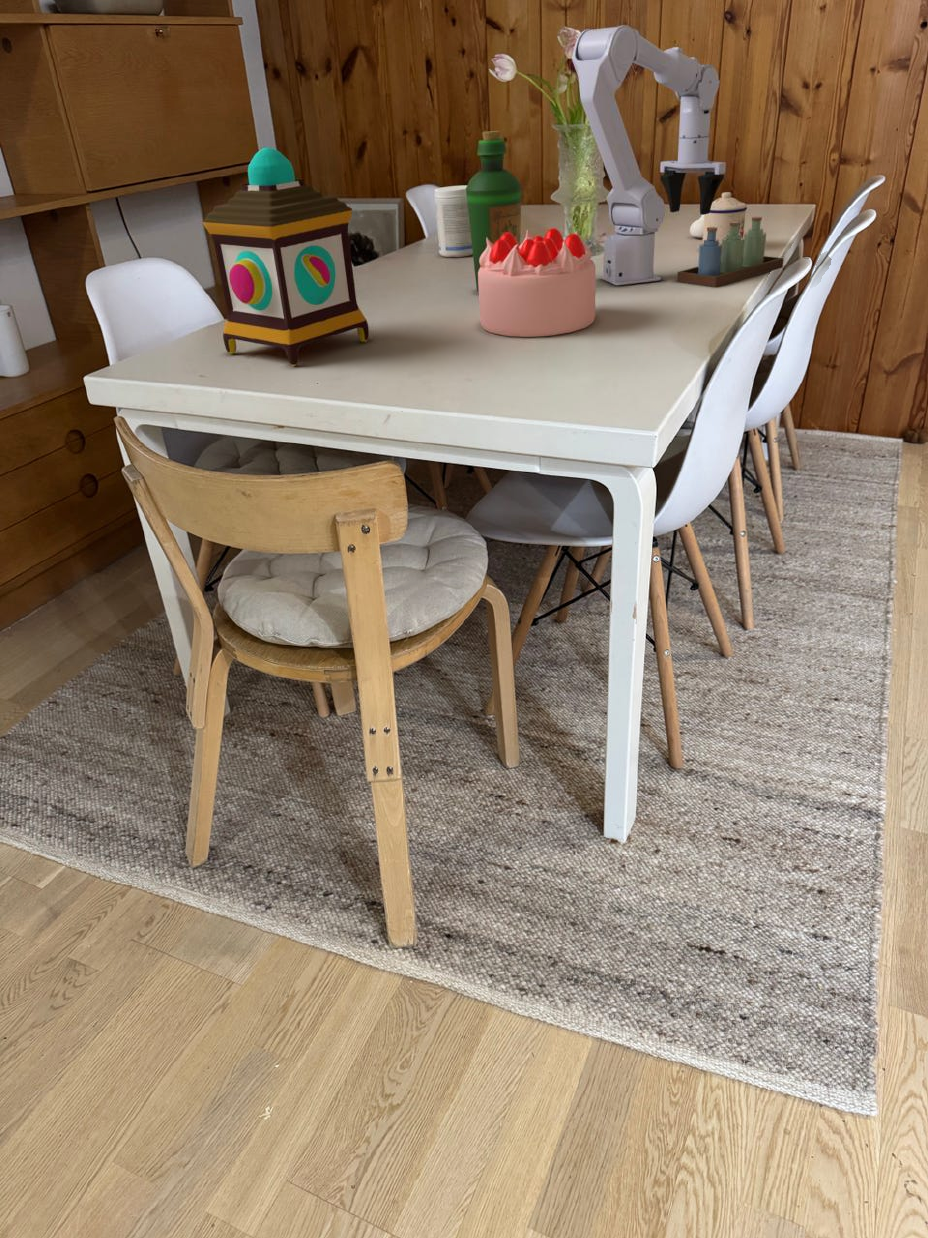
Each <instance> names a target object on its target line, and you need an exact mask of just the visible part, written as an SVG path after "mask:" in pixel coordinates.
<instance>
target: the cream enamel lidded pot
mask: <svg viewBox="0 0 928 1238" xmlns="http://www.w3.org/2000/svg"><path fill="white" fill-rule="evenodd" d="M747 209H748V206H747V204H746V203H745V202H742V201H739V200H738V199H736V198H735V197H732V192H729V191H725V192H722V193H721V197H719V198H716V199H715V200H713V202H712V205H711V209H710V213H709V214H705V217H704V231H703V238H702V244H703V243H704V240H706V239H707V233H708V231H707V228H708V227H717V231H716V239H718V240H719V243H721V244H722V239H724V238H726V235H727V234H730V222H740V226H739V231H738V234H741V237H742V238H744V234H745V222H746V211H747Z"/></svg>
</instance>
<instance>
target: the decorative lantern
mask: <svg viewBox="0 0 928 1238" xmlns="http://www.w3.org/2000/svg"><path fill="white" fill-rule="evenodd" d="M247 176H248V183H243V184H240V190H238V191H236V192H235V193H234V196H233V197H231V198H229V199H228V200H227V203H224V204H219V205H215V206H214V207H213V210H212V211H210V212H208V213H207V214H206V217H205V218H204V219H203V220H202V224H203V226H204V228H205V229H206V231H207V232H208V234H209V235H210V236H211V238H212V241H213V246H214V251H215V257H216V262H217V266H218V272H219V278H220V282H221V287H222V293H223V298H224V302H225V308H226V314H227V317H226V321H225V325H224V328H223V332H222V338H223V344H224V347H225V350H226V352H227V353H229V354H230V355H234V354H235V353H236V351H237V341H242V342H246V343H247V342H248V343H253V344H258V345H264V346H269V347H275V348H281V349H282V350H284V351H285V353H286V356H287V359H288V363H289V364H290V366H292V367H296V366H298V363H299V350H300V348H302V347H303V346H306V345H309V344H313V343H316V342H318V341H322V340H325V339H327V338H331V337H334V336H337V335H341V334H343V333H346V332H349V331H352V330H355V329H356V331H357V335H358V339H359V340H360V342H362V343H366V342H368V340H369V336H370V330H369V323H368V320H367V319H366V317H365V315H364V314H363V312H362V310H361V308H360V307H359V305H358V302H357V295H356V286H355V278H354V277H355V276H354V268H353V264H352V262H353V261H352V254H351V253H352V252H351V245H350V238H349V224H350V221H351V218H352V213H353V208H352V207H350V206H349V205H347V203H346V202H344V201H340V200H339V199H338V197H337V196H334V195H323V194H322V192H321V191H317V190H315V189H314V188H313V187H312V186H311V185H307V184H306V183H305V179H296V176H295V172H294V168H293V165H292V162H291V161H290V160H289V159H288V158H287V157H286V156H285V155H284V154H282V152H281V151H279V150H277V149H276V148H274V147H269V146H267V147H264V148H261V149H260V150H258V151H257V152H256V153H255V154H254V156H253V157H252V159H251V160H250V163H249V164H248V167H247ZM236 340H237V341H236Z"/></svg>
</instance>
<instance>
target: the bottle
mask: <svg viewBox="0 0 928 1238" xmlns="http://www.w3.org/2000/svg"><path fill="white" fill-rule="evenodd" d="M500 133H501V131H500V130H493V131H492V130H490V131H483V132H481V134H482V138H483V139H480V140H478V144H477V145H478V146H477V156H480V164H481V170H479V171H477V172H476V174H474V175H473V176H472V177H471V178H470V179H469V181H468V183H467V187H466V195H467V205H468V214H469V223H470V232H471V241H472V251H473V255H472V258H473V268H474V278H475V284H476V285H475V286H476V291H477V292H478V293H479V286H478V271H479V269H480V267H481V265H480V262H479V259H480V256H481V255H482V253H483V252H484V251H485V249H486V248H487V242H486V239H487V238H488V240H489V241H490V242H491V243H492V244H493V245H494V243H495V242H496V241H497V240H498V239H500V237H501V235H502V234H503V233H505V232H510V233H512V234H513V236H514V237H515V239H516V241H517V243H518V245H519V246H520V245H521V230H522V229H521V226H522V225H521V224H522V223H521V220H522V185H521V183H520V181H519V179H518V178H517V176H516V175H515V174H513V173H512V172H510V171H509V170H508V169H505V168H504V159H505V158H504V157H505V156H504V154H507V147H506V143H505V139H504V138H500Z"/></svg>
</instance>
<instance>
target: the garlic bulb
mask: <svg viewBox="0 0 928 1238" xmlns="http://www.w3.org/2000/svg"><path fill="white" fill-rule="evenodd" d="M704 217H705V215H700V217H699V218H698V219H697V220H694V222H692V224H691V225H690V228H689V235H690V236H691V237H692V238H693V237H694V238H699V239H703V231H704Z"/></svg>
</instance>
